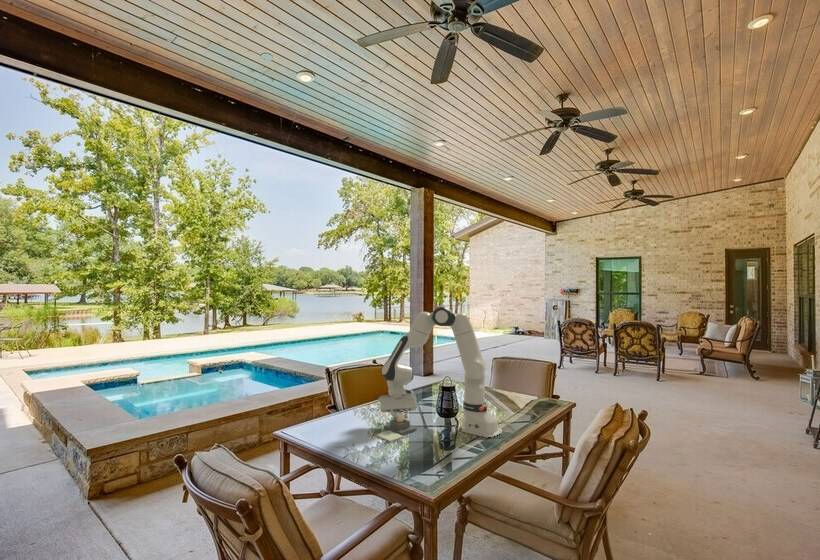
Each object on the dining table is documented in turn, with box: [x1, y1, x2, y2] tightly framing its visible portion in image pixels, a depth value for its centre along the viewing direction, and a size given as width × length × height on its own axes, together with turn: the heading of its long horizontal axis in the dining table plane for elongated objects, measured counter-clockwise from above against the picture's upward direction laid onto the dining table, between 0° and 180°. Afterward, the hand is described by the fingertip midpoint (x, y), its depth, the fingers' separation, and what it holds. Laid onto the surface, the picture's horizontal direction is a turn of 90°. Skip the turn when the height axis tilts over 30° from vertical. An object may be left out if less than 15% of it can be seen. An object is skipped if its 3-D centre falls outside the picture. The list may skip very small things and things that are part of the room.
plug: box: [396, 409, 405, 423], centre depth 214 cm, size 4×4×9 cm
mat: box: [375, 430, 405, 443], centre depth 203 cm, size 11×9×1 cm
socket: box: [383, 418, 417, 436], centre depth 214 cm, size 14×11×4 cm
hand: (400, 418), depth 213 cm, fingers open, 5 cm apart
